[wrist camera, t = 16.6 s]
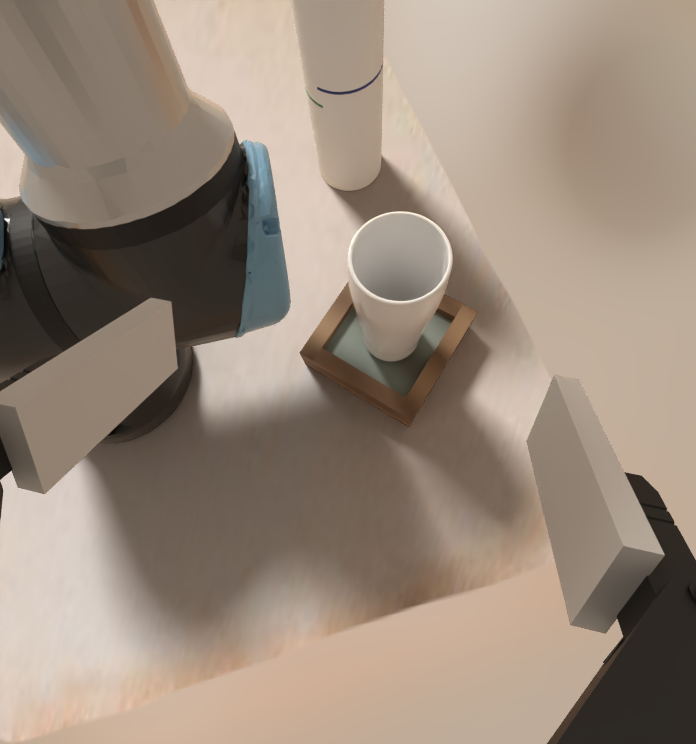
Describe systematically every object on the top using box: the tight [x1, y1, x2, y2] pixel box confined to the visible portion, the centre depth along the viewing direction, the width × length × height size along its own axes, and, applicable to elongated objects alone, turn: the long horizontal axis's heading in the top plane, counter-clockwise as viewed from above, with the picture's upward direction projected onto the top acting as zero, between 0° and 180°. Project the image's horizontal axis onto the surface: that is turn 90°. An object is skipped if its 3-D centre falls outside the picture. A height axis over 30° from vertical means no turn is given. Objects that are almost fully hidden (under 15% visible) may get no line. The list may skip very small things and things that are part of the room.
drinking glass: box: [348, 211, 453, 362], centre depth 35 cm, size 7×7×15 cm
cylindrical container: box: [290, 0, 384, 191], centre depth 39 cm, size 7×7×25 cm
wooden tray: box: [300, 282, 477, 427], centre depth 43 cm, size 12×12×4 cm
